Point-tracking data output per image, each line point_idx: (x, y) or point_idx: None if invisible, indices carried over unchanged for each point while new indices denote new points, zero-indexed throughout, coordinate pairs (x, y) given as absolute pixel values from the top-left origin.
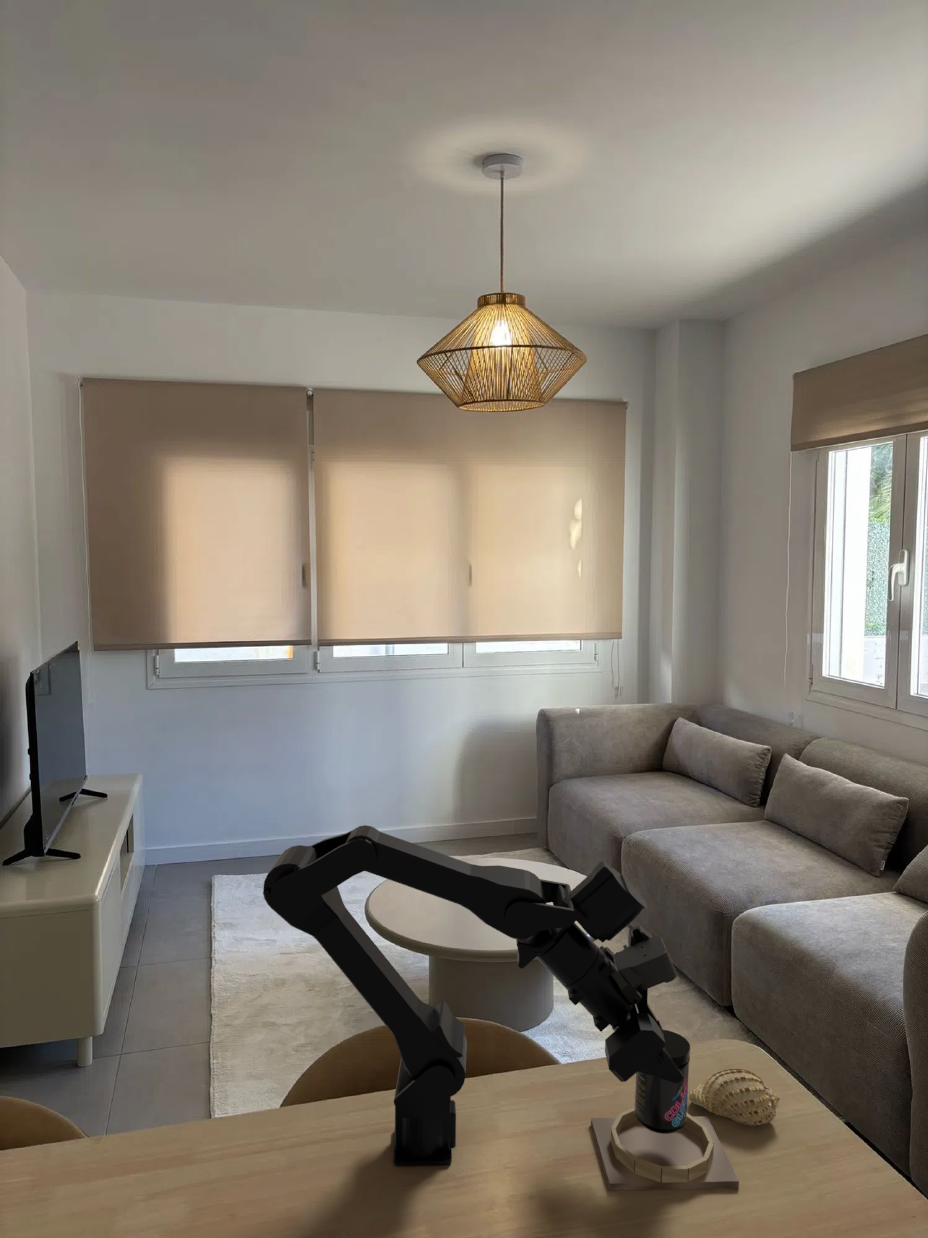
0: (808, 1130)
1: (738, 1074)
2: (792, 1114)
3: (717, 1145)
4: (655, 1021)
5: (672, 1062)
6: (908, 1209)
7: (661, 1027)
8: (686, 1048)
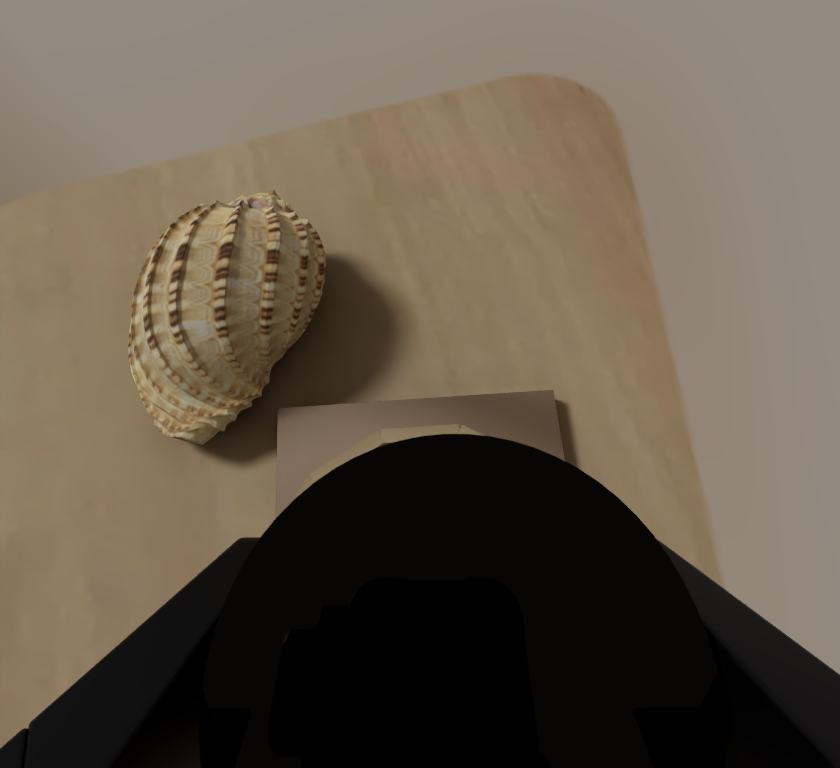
0: (320, 181)
1: (198, 259)
2: None
3: (410, 410)
4: (129, 753)
5: (836, 672)
6: (563, 89)
7: (166, 648)
8: (529, 474)
